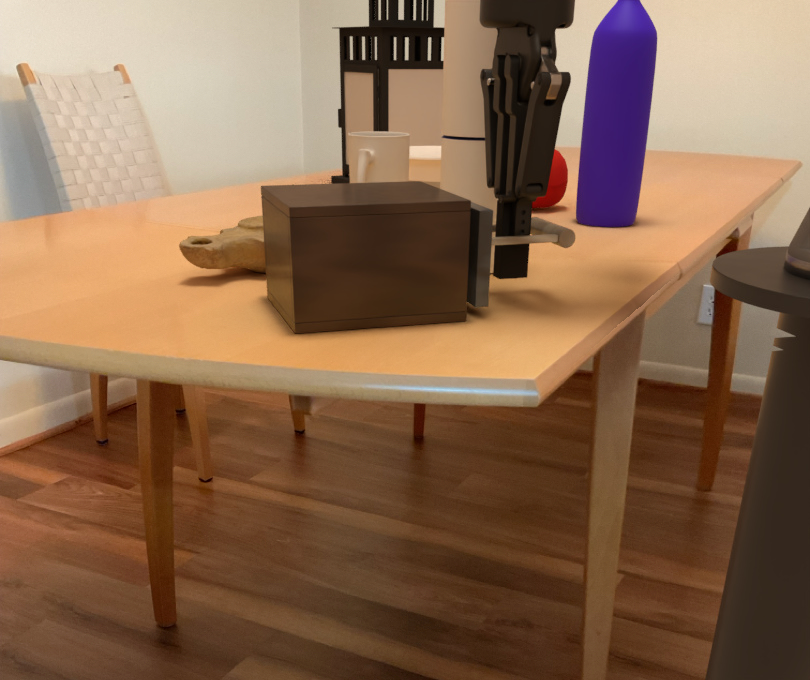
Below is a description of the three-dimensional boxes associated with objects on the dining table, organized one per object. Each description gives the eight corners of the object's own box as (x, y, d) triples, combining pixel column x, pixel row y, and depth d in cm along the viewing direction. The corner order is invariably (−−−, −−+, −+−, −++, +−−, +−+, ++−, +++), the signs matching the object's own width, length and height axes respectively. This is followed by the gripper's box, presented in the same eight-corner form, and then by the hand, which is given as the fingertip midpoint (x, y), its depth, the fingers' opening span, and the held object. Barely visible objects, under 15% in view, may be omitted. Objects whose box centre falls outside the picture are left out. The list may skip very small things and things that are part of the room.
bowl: (474, 209, 132) (477, 145, 128) (514, 227, 118) (519, 156, 114) (366, 212, 128) (366, 146, 124) (395, 232, 114) (395, 158, 110)
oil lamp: (175, 283, 88) (169, 229, 86) (238, 255, 100) (235, 207, 98) (277, 291, 85) (274, 236, 83) (330, 262, 98) (328, 213, 95)
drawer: (527, 273, 89) (533, 188, 86) (581, 300, 80) (591, 206, 76) (303, 286, 83) (300, 196, 80) (333, 317, 74) (330, 216, 70)
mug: (361, 240, 109) (360, 130, 103) (415, 244, 107) (417, 132, 102) (331, 256, 100) (327, 137, 95) (388, 260, 99) (389, 139, 93)
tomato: (561, 203, 138) (566, 143, 134) (571, 214, 128) (576, 149, 125) (499, 202, 138) (502, 142, 134) (504, 213, 129) (508, 148, 125)
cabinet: (419, 288, 87) (420, 180, 83) (466, 321, 77) (471, 200, 72) (267, 297, 83) (260, 185, 79) (295, 333, 73) (289, 206, 68)
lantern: (331, 183, 156) (324, -61, 140) (418, 177, 164) (422, -55, 147) (378, 195, 143) (377, -72, 127) (471, 189, 151) (481, -64, 134)
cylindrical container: (434, 272, 94) (441, -13, 82) (441, 258, 100) (449, -8, 88) (504, 275, 93) (521, -12, 81) (507, 261, 99) (523, -8, 87)
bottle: (638, 228, 118) (672, -46, 104) (573, 226, 120) (598, -45, 105) (635, 218, 126) (666, -39, 111) (574, 216, 127) (597, -39, 113)
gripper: (455, -25, 76) (446, 264, 87) (519, -38, 65) (499, 295, 76) (537, -22, 78) (518, 260, 89) (612, -34, 67) (580, 290, 78)
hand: (510, 276), depth 83 cm, fingers closed
